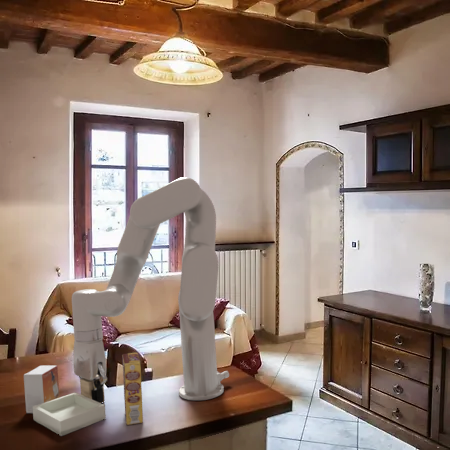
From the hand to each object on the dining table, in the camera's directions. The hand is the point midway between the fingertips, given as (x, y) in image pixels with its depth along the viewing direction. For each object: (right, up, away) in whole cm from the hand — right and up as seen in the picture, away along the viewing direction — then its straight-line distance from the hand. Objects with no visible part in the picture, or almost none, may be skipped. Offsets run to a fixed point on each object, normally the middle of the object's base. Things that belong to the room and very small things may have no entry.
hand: (92, 400), depth 134 cm
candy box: (+13, -1, -11) cm, 17 cm away
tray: (-3, -1, -10) cm, 11 cm away
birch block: (0, -1, 0) cm, 1 cm away
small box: (-13, -2, -1) cm, 14 cm away
